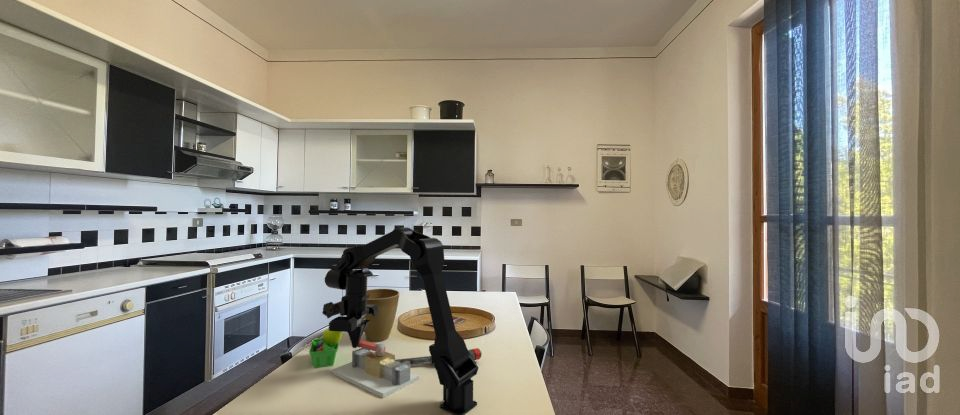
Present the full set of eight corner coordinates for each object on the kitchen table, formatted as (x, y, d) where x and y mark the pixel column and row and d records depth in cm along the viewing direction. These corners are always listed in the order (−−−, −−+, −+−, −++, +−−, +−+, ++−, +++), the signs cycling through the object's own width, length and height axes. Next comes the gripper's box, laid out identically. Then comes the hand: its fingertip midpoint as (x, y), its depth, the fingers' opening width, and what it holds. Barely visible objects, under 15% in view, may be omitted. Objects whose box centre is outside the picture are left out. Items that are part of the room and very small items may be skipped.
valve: (478, 356, 118) (484, 369, 104) (397, 364, 115) (391, 379, 100) (477, 336, 119) (483, 346, 105) (396, 343, 116) (391, 355, 101)
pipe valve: (412, 382, 96) (412, 361, 96) (397, 389, 91) (397, 368, 92) (365, 362, 107) (365, 344, 107) (349, 368, 103) (350, 349, 103)
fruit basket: (312, 355, 113) (313, 319, 113) (343, 351, 116) (343, 316, 116) (308, 370, 103) (309, 330, 103) (342, 366, 105) (342, 327, 106)
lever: (386, 353, 100) (386, 344, 100) (380, 356, 98) (380, 347, 98) (357, 345, 106) (357, 337, 106) (351, 348, 104) (351, 339, 104)
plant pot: (353, 334, 132) (353, 290, 132) (394, 329, 138) (394, 287, 138) (357, 349, 118) (358, 300, 118) (403, 342, 125) (403, 295, 125)
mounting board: (419, 379, 98) (419, 375, 98) (383, 397, 88) (383, 393, 88) (367, 359, 111) (367, 355, 111) (331, 373, 101) (331, 369, 101)
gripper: (345, 284, 112) (343, 335, 112) (310, 297, 94) (308, 358, 93) (379, 286, 111) (378, 337, 111) (351, 299, 93) (349, 361, 92)
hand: (354, 347), depth 102 cm, fingers closed
